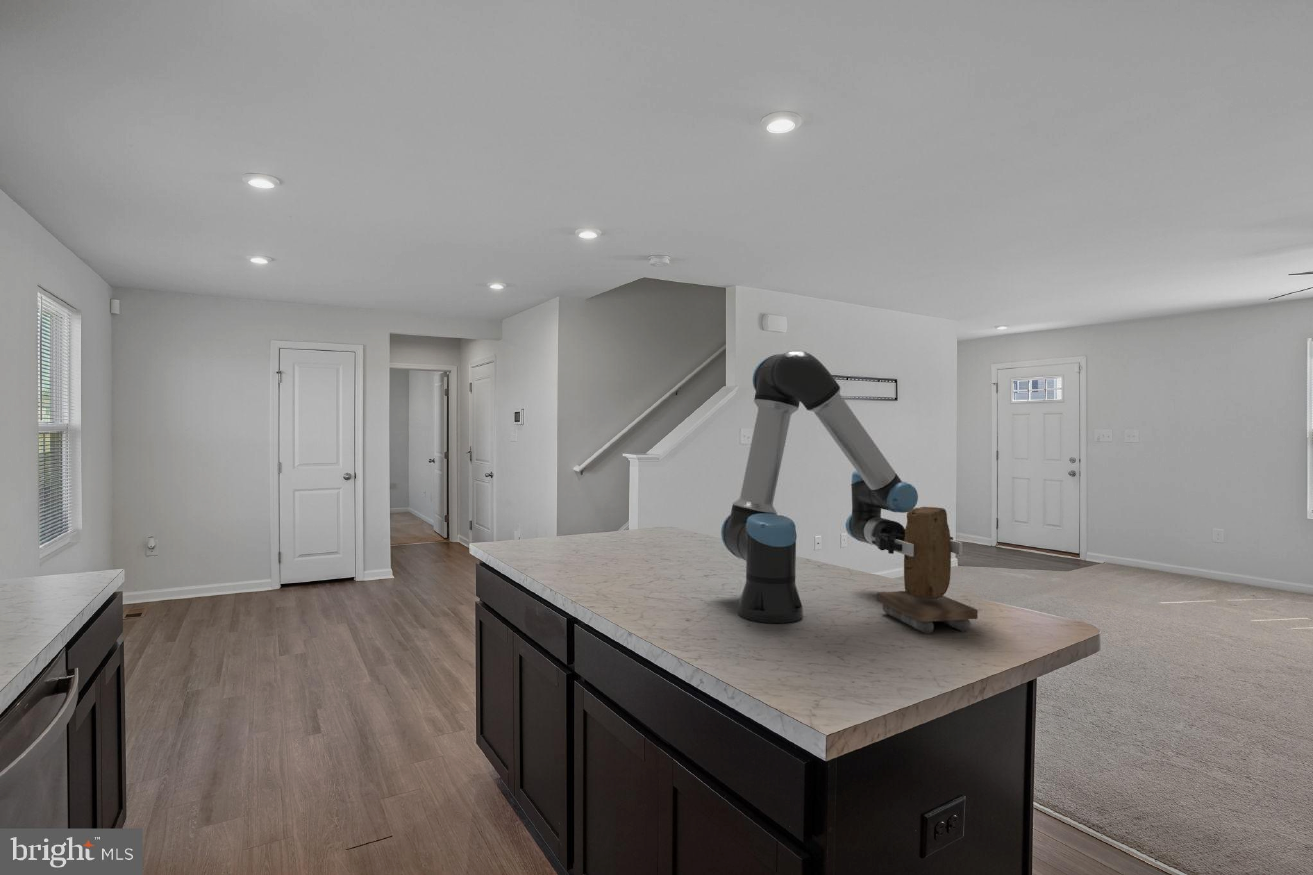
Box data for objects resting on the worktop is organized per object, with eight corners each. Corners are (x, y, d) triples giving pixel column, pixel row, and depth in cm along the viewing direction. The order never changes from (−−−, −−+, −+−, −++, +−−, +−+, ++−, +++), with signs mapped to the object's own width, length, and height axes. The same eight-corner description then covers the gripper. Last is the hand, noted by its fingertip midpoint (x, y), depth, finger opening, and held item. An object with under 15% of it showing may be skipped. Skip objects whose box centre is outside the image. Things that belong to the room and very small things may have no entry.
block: (931, 601, 147) (932, 511, 147) (899, 595, 153) (901, 507, 153) (955, 594, 154) (956, 507, 154) (924, 587, 160) (925, 504, 160)
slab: (919, 635, 145) (919, 612, 144) (876, 612, 162) (876, 592, 162) (977, 632, 147) (977, 609, 147) (928, 610, 165) (929, 590, 165)
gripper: (927, 547, 174) (983, 564, 153) (842, 550, 169) (888, 568, 148) (927, 518, 174) (984, 531, 152) (842, 520, 169) (888, 534, 148)
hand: (936, 549), depth 150 cm, fingers closed on block, 11 cm apart
